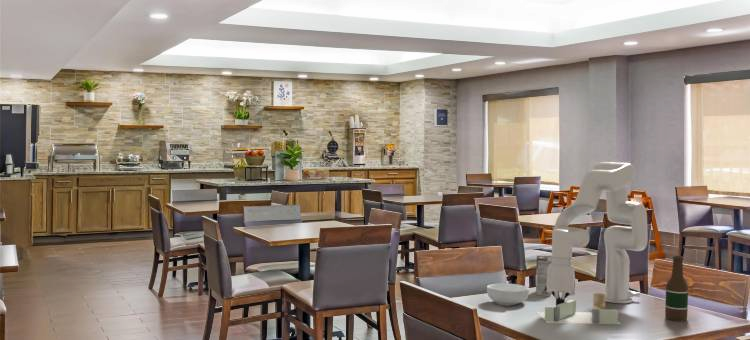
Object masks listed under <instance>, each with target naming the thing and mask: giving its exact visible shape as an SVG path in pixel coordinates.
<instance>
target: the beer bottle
mask: <svg viewBox="0 0 750 340" xmlns="http://www.w3.org/2000/svg"><path fill="white" fill-rule="evenodd" d="M672 260H673V262H672V269H671V270H672V271H671V275H670V278H669V279H668V280H667V283H666V285H665V286H666V287H665V303H664V304H665V311H664V312H665V313H664V315H665V318H666V319H668V320H669V321H674V322H684V321H686V320H688V311H689V310H688V307H689V285H688V283H687V281H686V279H685V277H684V266H683V263H684V262H683V260H684V257H683V256H681V255H673V256H672Z"/></svg>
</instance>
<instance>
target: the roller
mask: <svg viewBox="0 0 750 340" xmlns="http://www.w3.org/2000/svg"><path fill="white" fill-rule="evenodd" d="M605 297H606V295H605V293H601V292H598V293H597V292H596V293H593V297H592V299H593V300H592V309H606V301H605Z"/></svg>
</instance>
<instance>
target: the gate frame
mask: <svg viewBox="0 0 750 340" xmlns="http://www.w3.org/2000/svg"><path fill="white" fill-rule="evenodd" d="M536 314H538V315H539V316H540V318H542V319H543V320H544V321H545V322H546V323H547V324H587V325H588V324H592V325H593V324H597V325H598V324H599V325H603V324H604V325H608V324H609V325H621V324H622V323H621V322H620V321H619V309H607V308H605V309H593V308H592V311H591V312H590V311H576V313H575V314H572V315H569V316H567V317H564V318H562V319H558V316H559V308H558V307H556V306H555V307H554V306H553V307H551V306H549V307H544V311H536Z"/></svg>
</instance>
